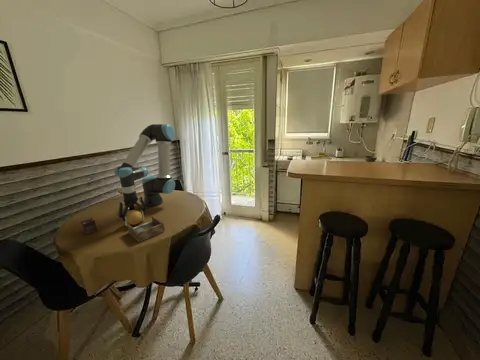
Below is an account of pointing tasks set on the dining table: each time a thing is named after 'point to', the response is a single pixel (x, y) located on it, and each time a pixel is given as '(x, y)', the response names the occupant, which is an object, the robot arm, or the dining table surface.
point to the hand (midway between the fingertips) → (135, 222)
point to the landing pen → (146, 229)
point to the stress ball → (134, 217)
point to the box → (88, 226)
